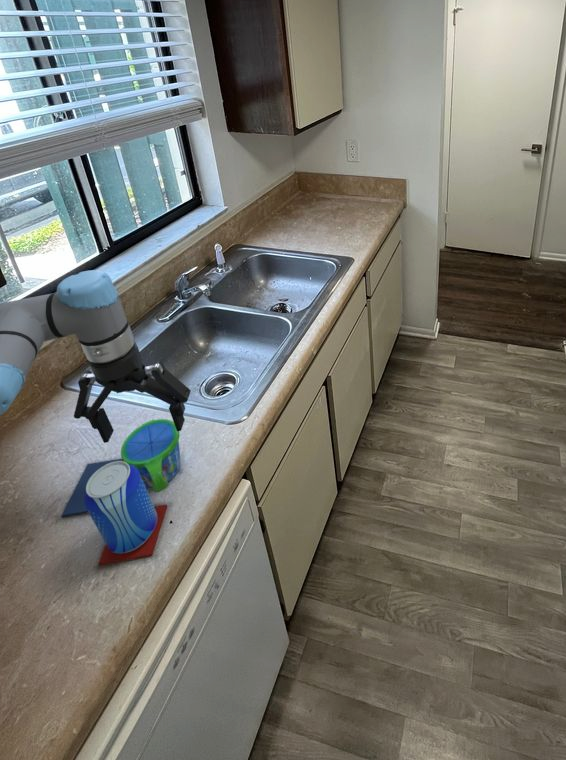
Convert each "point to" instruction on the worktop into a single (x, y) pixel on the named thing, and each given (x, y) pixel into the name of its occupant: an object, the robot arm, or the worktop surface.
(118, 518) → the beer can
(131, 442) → the snack cup
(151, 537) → the red mat
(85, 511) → the blue mat
